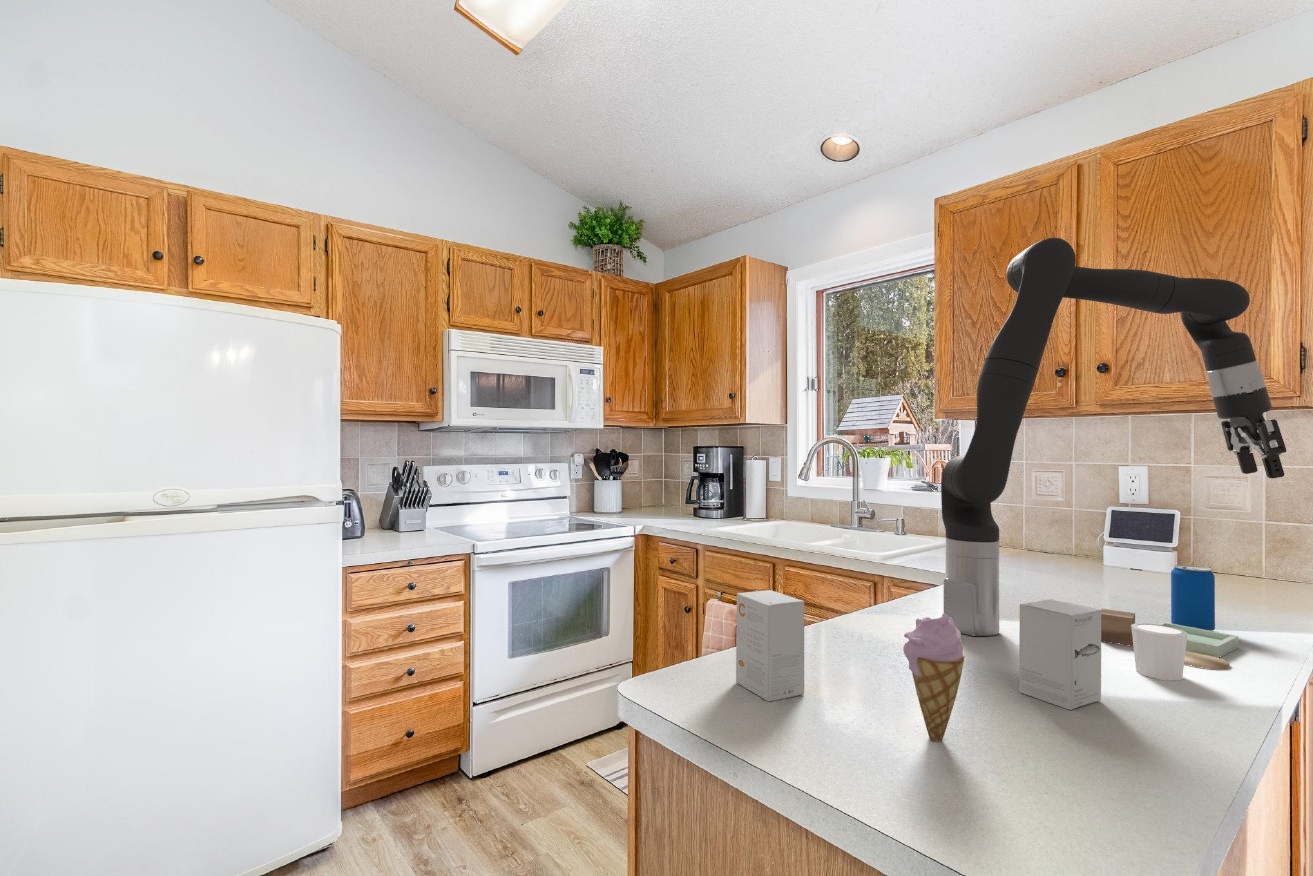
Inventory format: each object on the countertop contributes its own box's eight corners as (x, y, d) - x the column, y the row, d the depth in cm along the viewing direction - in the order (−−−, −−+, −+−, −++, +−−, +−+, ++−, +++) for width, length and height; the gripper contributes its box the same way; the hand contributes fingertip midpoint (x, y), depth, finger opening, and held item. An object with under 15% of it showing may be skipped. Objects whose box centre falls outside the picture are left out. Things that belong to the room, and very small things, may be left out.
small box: (805, 695, 88) (806, 600, 88) (767, 702, 85) (768, 605, 85) (770, 676, 95) (770, 588, 95) (734, 682, 92) (735, 592, 93)
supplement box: (1072, 712, 83) (1071, 614, 83) (1017, 692, 90) (1017, 602, 90) (1103, 702, 86) (1103, 608, 87) (1048, 684, 93) (1048, 597, 93)
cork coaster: (1220, 675, 99) (1220, 670, 99) (1157, 661, 105) (1157, 656, 105) (1236, 666, 103) (1236, 661, 103) (1175, 652, 110) (1175, 648, 110)
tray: (1217, 658, 105) (1217, 646, 105) (1138, 641, 114) (1138, 630, 115) (1238, 647, 112) (1238, 636, 112) (1162, 632, 121) (1162, 621, 121)
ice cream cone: (932, 756, 70) (933, 620, 71) (891, 733, 76) (891, 607, 76) (975, 745, 73) (975, 615, 73) (932, 724, 79) (932, 602, 79)
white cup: (1179, 670, 99) (1179, 625, 99) (1194, 685, 93) (1194, 637, 93) (1125, 664, 102) (1125, 620, 102) (1137, 678, 96) (1137, 631, 96)
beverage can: (1198, 625, 126) (1197, 564, 126) (1224, 635, 119) (1223, 571, 119) (1163, 624, 126) (1162, 563, 127) (1186, 633, 120) (1186, 570, 120)
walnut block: (1132, 647, 112) (1132, 618, 112) (1098, 641, 115) (1098, 613, 115) (1135, 640, 115) (1135, 613, 116) (1101, 635, 119) (1101, 608, 119)
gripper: (1195, 396, 125) (1219, 476, 125) (1233, 394, 112) (1259, 483, 111) (1242, 385, 123) (1266, 467, 122) (1286, 382, 109) (1313, 474, 109)
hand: (1262, 475), depth 117 cm, fingers open, 8 cm apart
